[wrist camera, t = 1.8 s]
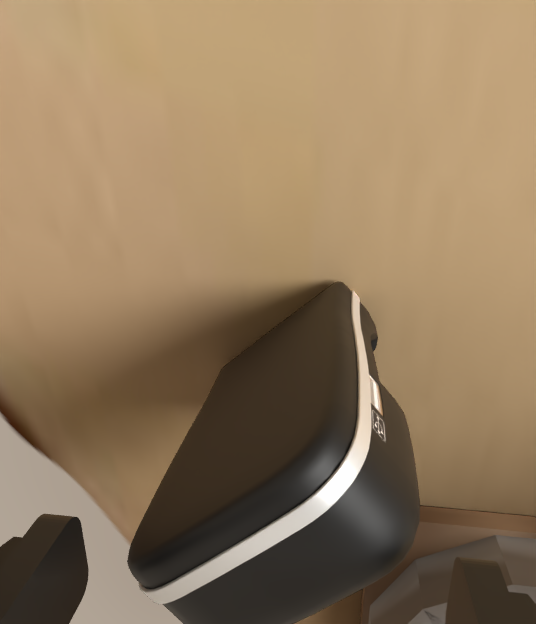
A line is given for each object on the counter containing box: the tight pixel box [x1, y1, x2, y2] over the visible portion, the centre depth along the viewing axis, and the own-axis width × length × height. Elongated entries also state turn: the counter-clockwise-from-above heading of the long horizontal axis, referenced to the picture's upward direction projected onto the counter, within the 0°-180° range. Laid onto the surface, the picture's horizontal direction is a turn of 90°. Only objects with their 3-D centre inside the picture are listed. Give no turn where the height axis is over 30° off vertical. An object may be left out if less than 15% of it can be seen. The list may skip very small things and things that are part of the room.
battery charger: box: [127, 282, 420, 624], centre depth 16 cm, size 7×4×11 cm, turn 131°
